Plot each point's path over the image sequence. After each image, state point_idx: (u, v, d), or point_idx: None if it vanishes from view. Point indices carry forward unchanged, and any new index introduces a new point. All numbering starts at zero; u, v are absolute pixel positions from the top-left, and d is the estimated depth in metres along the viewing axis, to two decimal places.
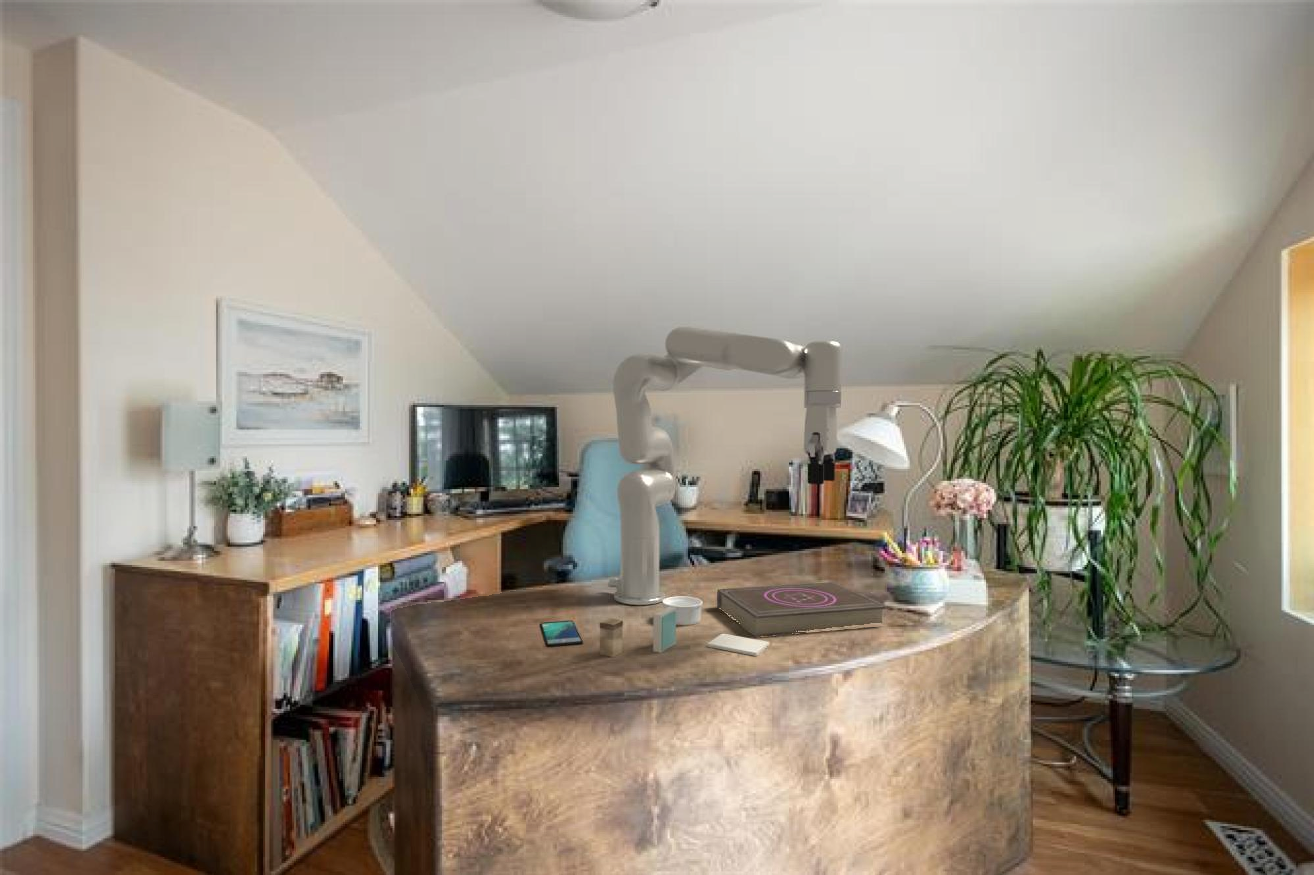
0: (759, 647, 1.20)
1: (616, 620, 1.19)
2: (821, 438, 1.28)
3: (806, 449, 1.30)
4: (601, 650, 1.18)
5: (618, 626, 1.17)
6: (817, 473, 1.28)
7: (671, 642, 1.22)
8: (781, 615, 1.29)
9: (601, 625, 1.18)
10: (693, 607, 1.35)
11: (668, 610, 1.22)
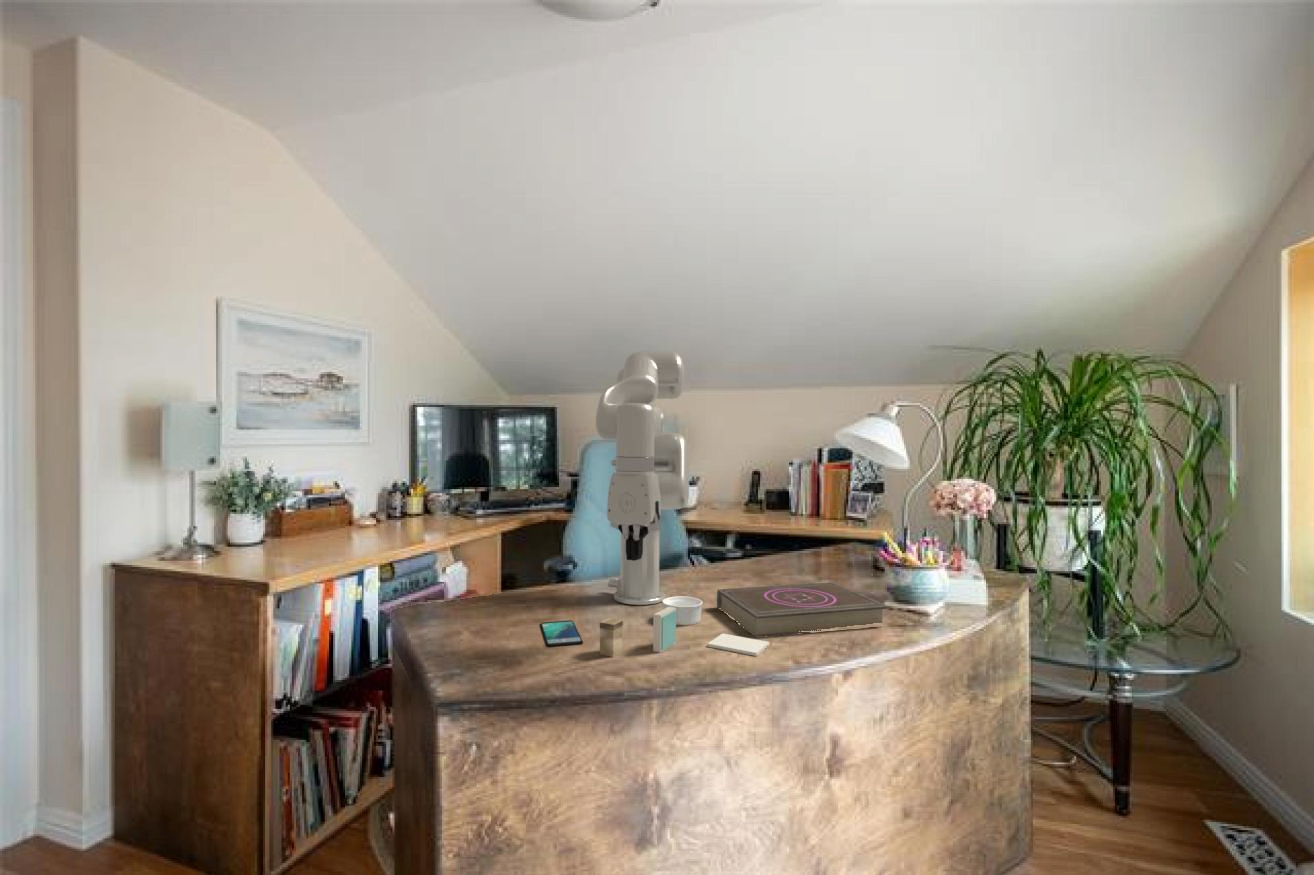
0: (759, 647, 1.20)
1: (616, 620, 1.19)
2: (659, 507, 1.23)
3: (651, 520, 1.21)
4: (601, 650, 1.18)
5: (618, 626, 1.17)
6: (642, 548, 1.25)
7: (671, 642, 1.22)
8: (781, 615, 1.29)
9: (601, 625, 1.18)
10: (693, 607, 1.35)
11: (668, 610, 1.22)
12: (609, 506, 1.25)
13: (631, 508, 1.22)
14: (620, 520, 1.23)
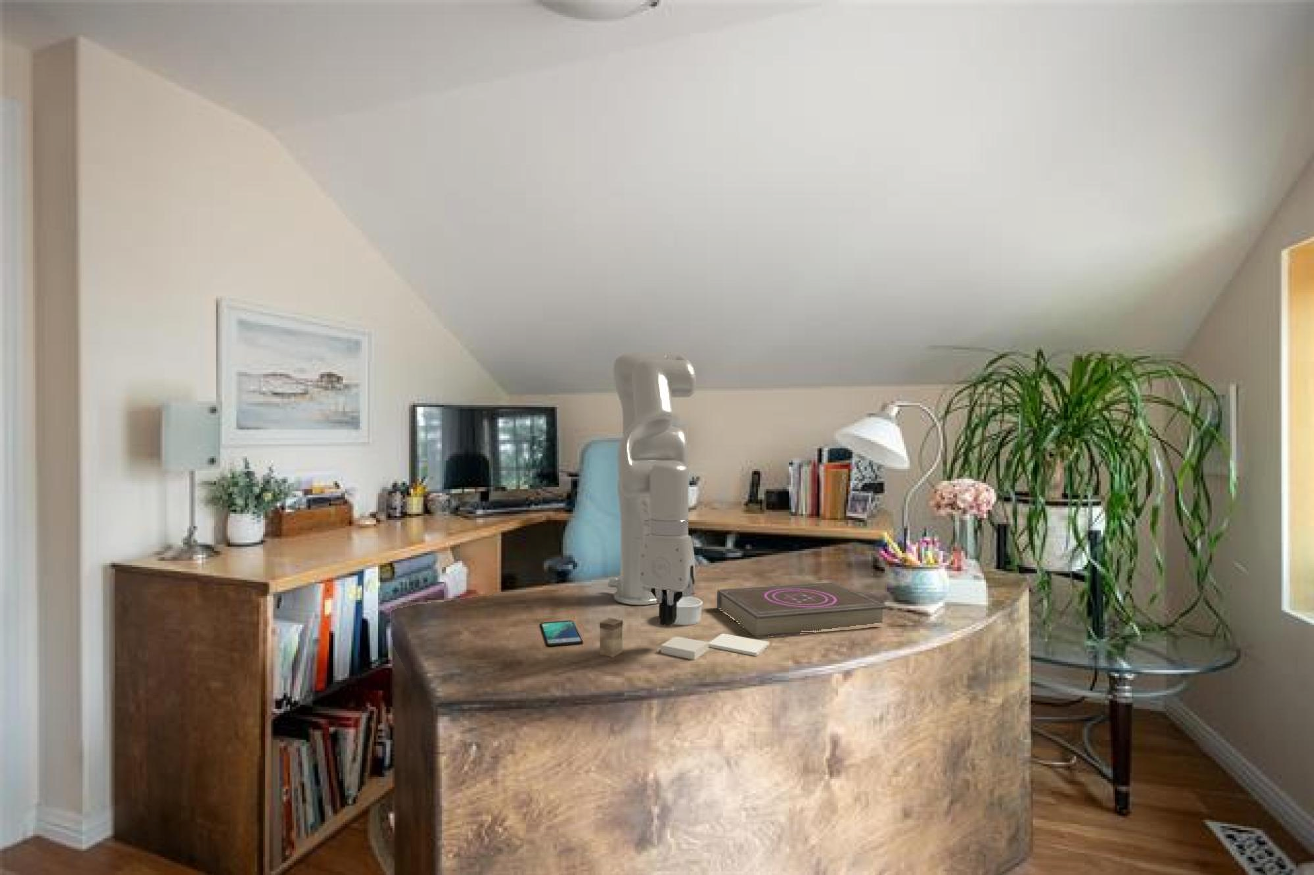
0: (759, 647, 1.20)
1: (616, 620, 1.19)
2: (694, 570, 1.20)
3: (686, 586, 1.17)
4: (601, 650, 1.18)
5: (618, 626, 1.17)
6: (676, 612, 1.21)
7: None
8: (782, 615, 1.29)
9: (601, 625, 1.18)
10: (693, 607, 1.35)
11: (703, 652, 1.19)
12: (642, 569, 1.21)
13: (665, 573, 1.18)
14: (653, 584, 1.20)
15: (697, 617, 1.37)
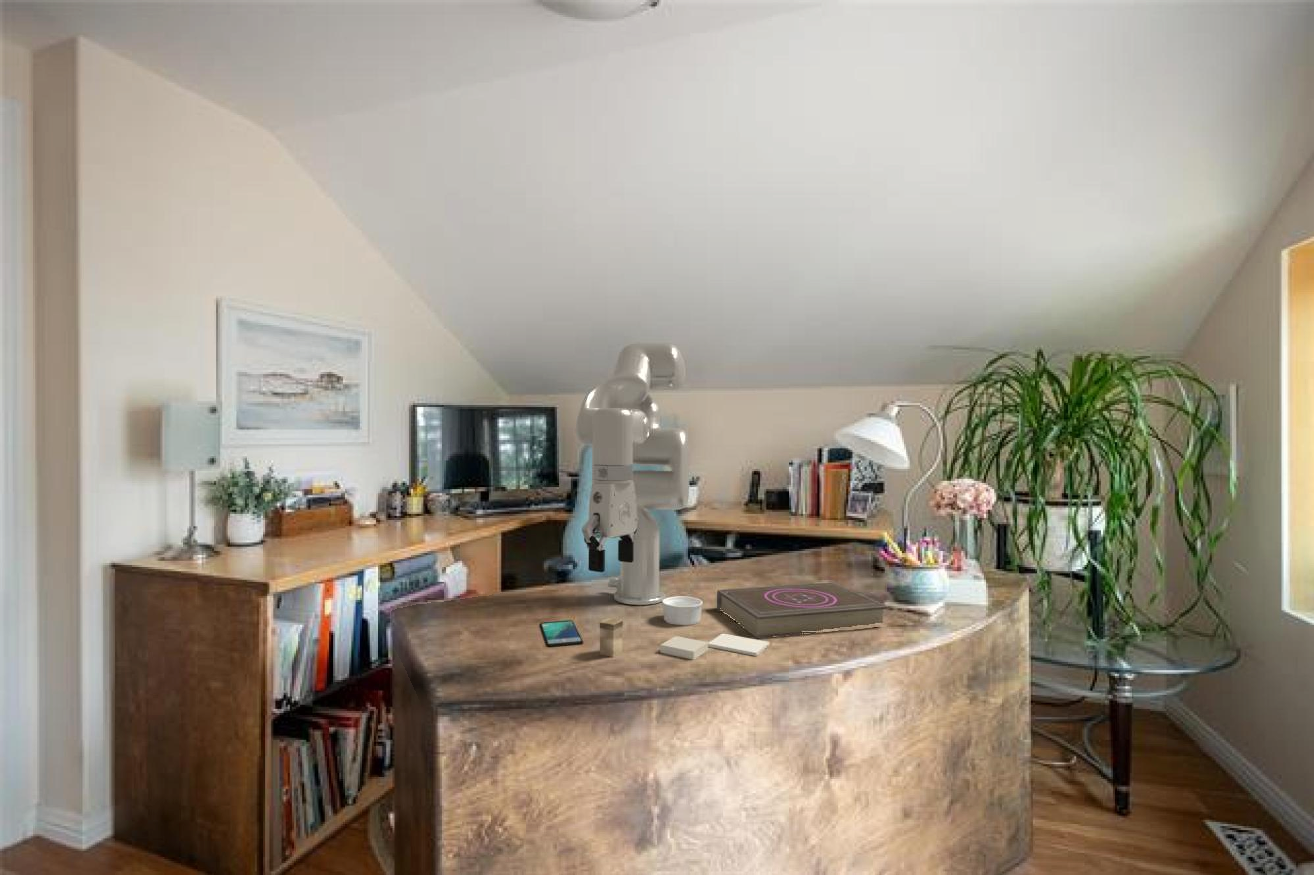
0: (759, 647, 1.20)
1: (616, 620, 1.19)
2: None
3: None
4: (601, 650, 1.18)
5: (618, 626, 1.17)
6: None
7: None
8: (782, 616, 1.29)
9: (601, 625, 1.18)
10: (693, 607, 1.35)
11: (702, 652, 1.19)
12: (611, 521, 1.13)
13: (627, 517, 1.17)
14: (620, 532, 1.15)
15: (697, 617, 1.37)
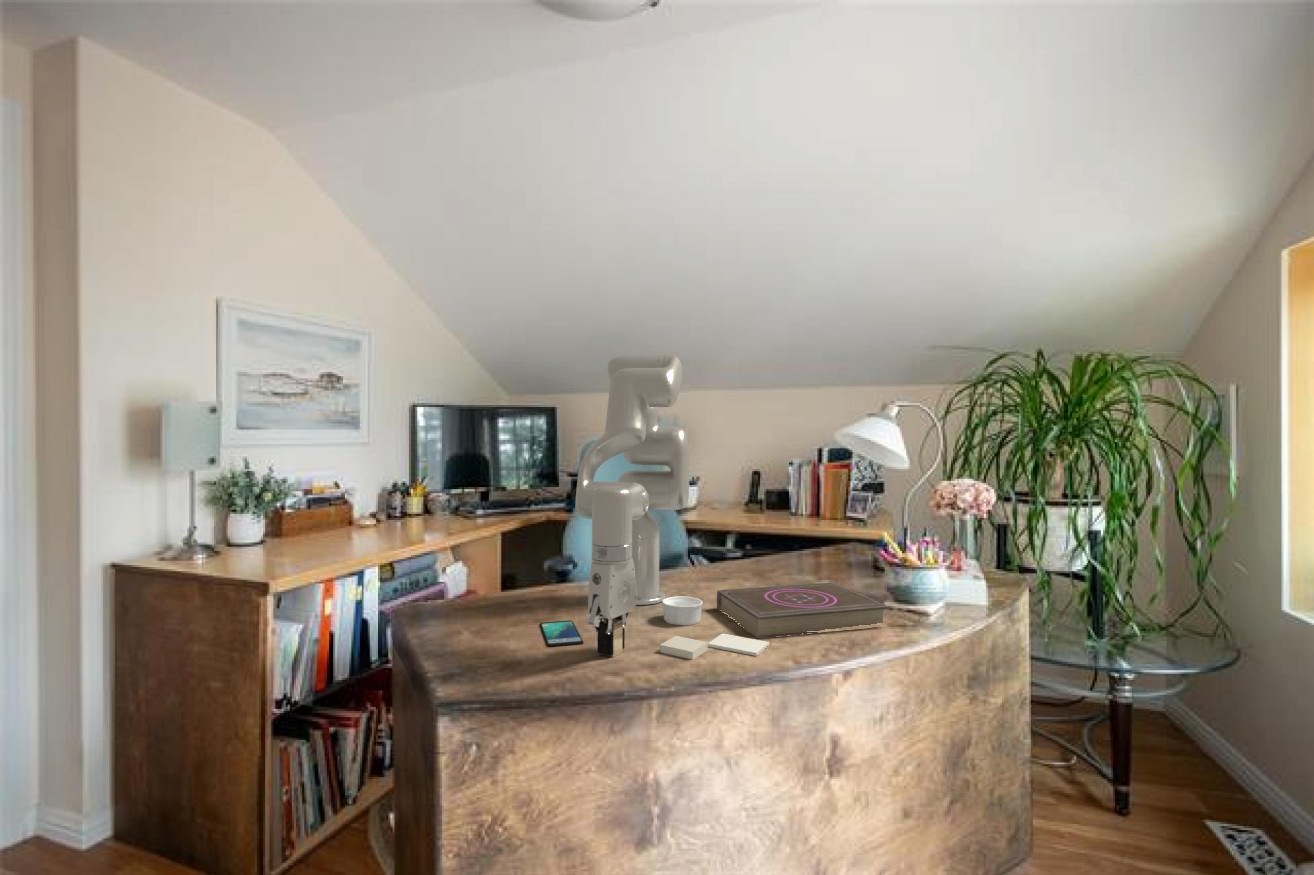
0: (759, 647, 1.20)
1: (616, 620, 1.19)
2: None
3: None
4: None
5: (618, 626, 1.17)
6: None
7: None
8: (783, 616, 1.28)
9: None
10: (693, 607, 1.35)
11: (702, 652, 1.19)
12: (610, 602, 1.13)
13: (626, 596, 1.18)
14: (619, 612, 1.15)
15: (697, 617, 1.37)
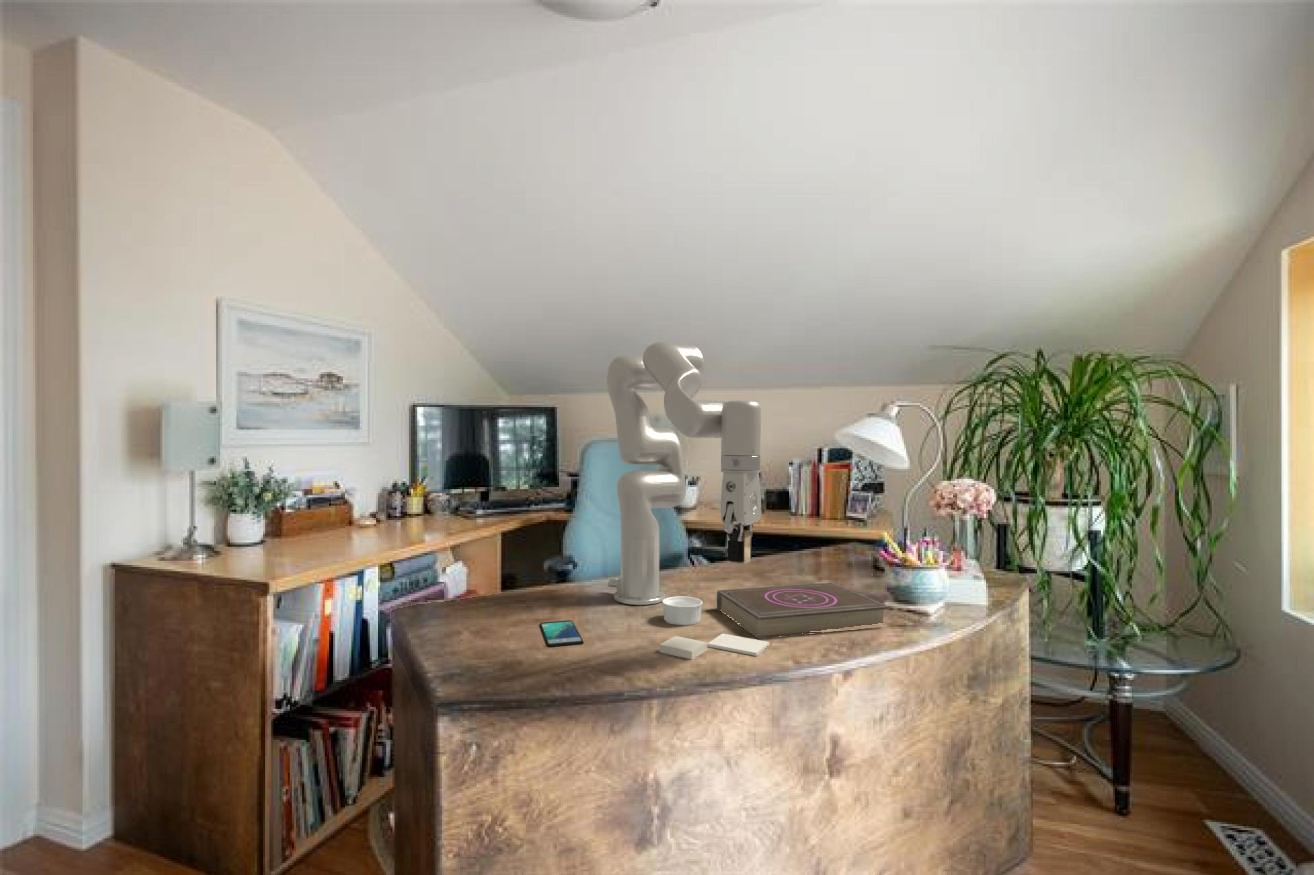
0: (759, 647, 1.20)
1: (744, 530, 1.23)
2: None
3: None
4: None
5: (747, 535, 1.22)
6: None
7: None
8: (783, 616, 1.28)
9: None
10: (693, 607, 1.35)
11: (701, 652, 1.19)
12: (744, 509, 1.18)
13: (755, 506, 1.22)
14: (750, 520, 1.20)
15: (697, 617, 1.37)
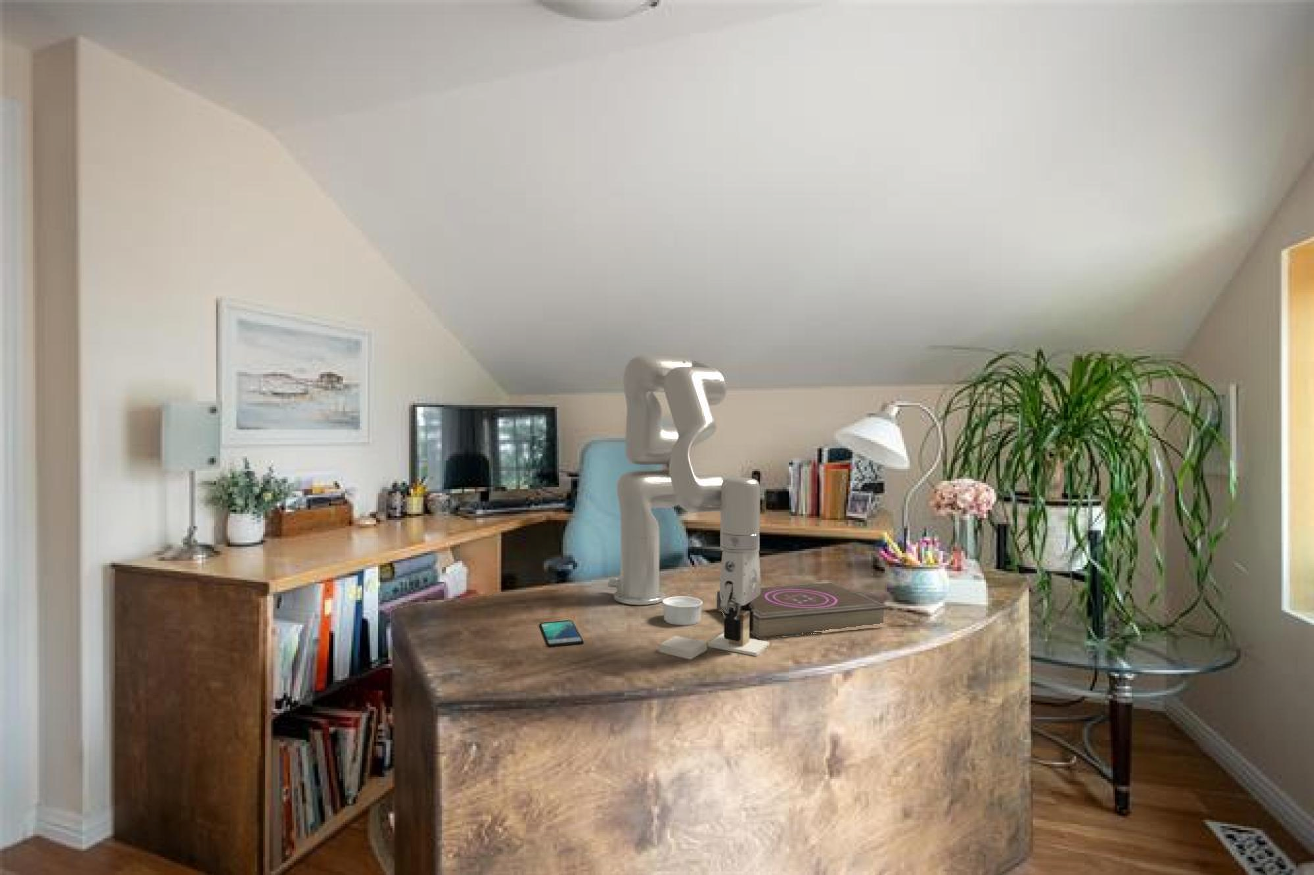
0: (759, 647, 1.20)
1: (743, 611, 1.23)
2: None
3: None
4: (730, 640, 1.22)
5: (746, 617, 1.22)
6: None
7: None
8: (784, 616, 1.28)
9: None
10: (693, 607, 1.35)
11: (700, 652, 1.19)
12: (743, 589, 1.18)
13: (754, 583, 1.22)
14: (749, 599, 1.20)
15: (697, 617, 1.37)
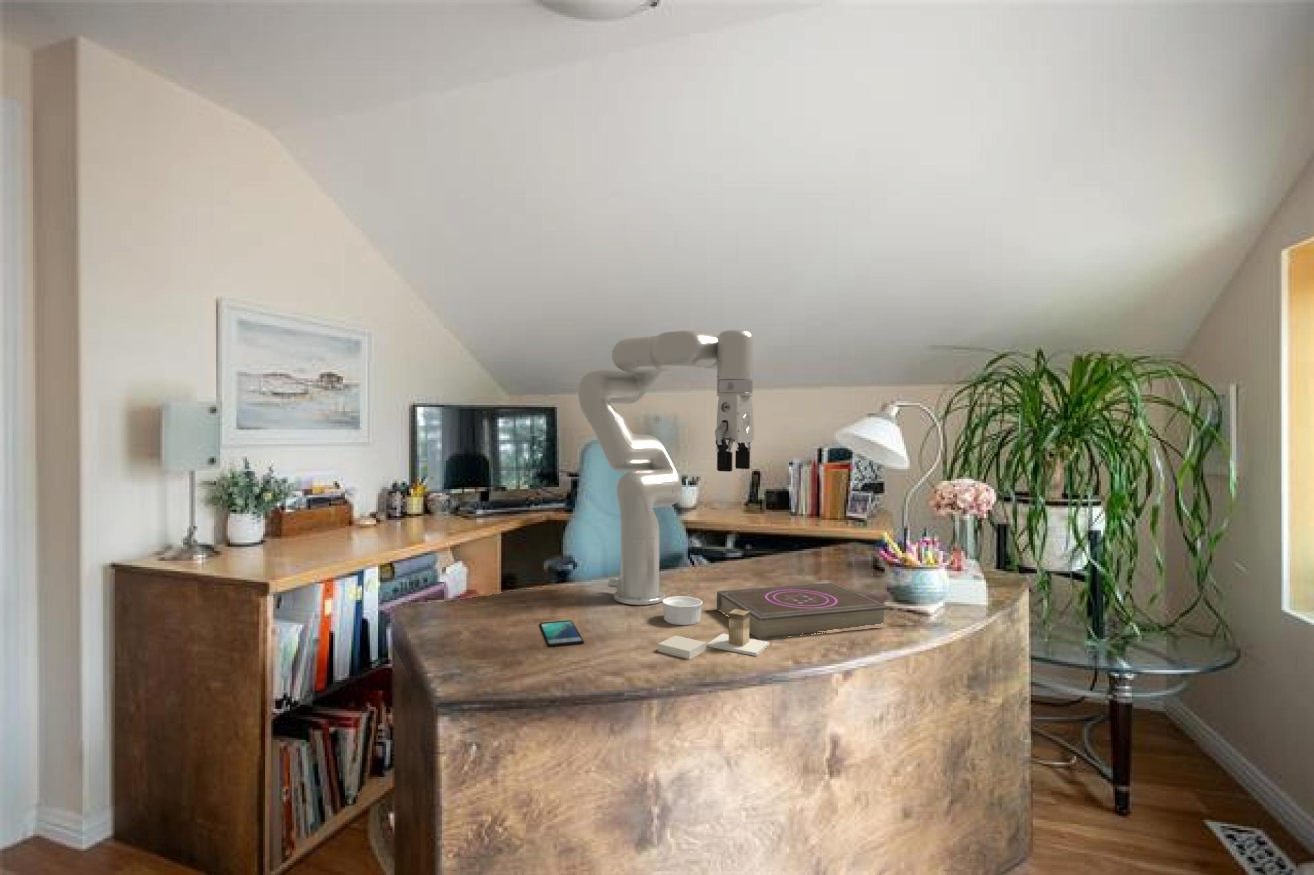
0: (759, 647, 1.20)
1: (743, 611, 1.23)
2: None
3: None
4: (730, 640, 1.22)
5: (746, 617, 1.22)
6: None
7: None
8: (784, 617, 1.28)
9: (730, 616, 1.22)
10: (693, 607, 1.35)
11: (699, 652, 1.19)
12: (738, 427, 1.30)
13: (748, 427, 1.34)
14: (743, 438, 1.32)
15: (697, 617, 1.37)
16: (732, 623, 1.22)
